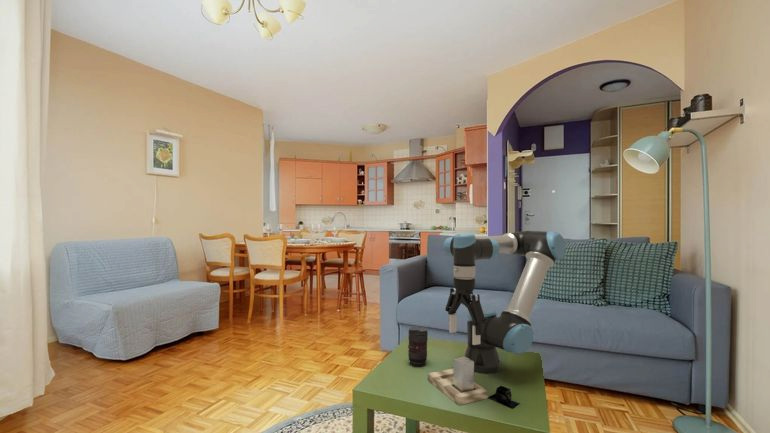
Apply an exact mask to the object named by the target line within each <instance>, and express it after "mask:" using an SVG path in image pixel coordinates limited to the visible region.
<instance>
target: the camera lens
mask: <svg viewBox="0 0 770 433" xmlns="http://www.w3.org/2000/svg"><path fill="white" fill-rule="evenodd" d="M428 334H429V333H428V329H427V327H425V326H419V325H416V326H415V325H413V326H410V327H409V329H408V345H407V346H408V347H407V348H408V354H407V355H408V361H409V365H410V366H412V367H416V368H417V367H418V368H419V367H425V365H426V363H427V360H428V358H427V357H428Z"/></svg>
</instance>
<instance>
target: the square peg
mask: <svg viewBox="0 0 770 433" xmlns="http://www.w3.org/2000/svg"><path fill="white" fill-rule="evenodd" d="M452 369H453V387H454V388H455V389H457V390H458V391H459V392H461V393H464V392H468V391H473V390H474V382H475V377H474V376H475V371H474V361H472V360H470V359H469V358H467V357H464V356H460V357H455V358H453V368H452Z"/></svg>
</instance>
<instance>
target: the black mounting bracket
mask: <svg viewBox="0 0 770 433" xmlns="http://www.w3.org/2000/svg"><path fill="white" fill-rule="evenodd" d="M487 399H489V400H491V401H492V402H495V403H497V404H500V405H501V406H504V407H505V408H506V407H507V408H509V409H511V410H513V409H515V408H516V407H518V406H519V405H521V403H520V402H518V401H516V400H513V399H512V391H511V389H510V388H508V387H506V386H504V385H499V386H498V387H496V390H495V393H493V394H492V395H489V396H488V398H487Z"/></svg>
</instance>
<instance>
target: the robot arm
mask: <svg viewBox="0 0 770 433" xmlns="http://www.w3.org/2000/svg"><path fill="white" fill-rule="evenodd" d="M566 247H567V246H566V241H565V239H564V237H563V235H561V233H560V232H557V231H551V230H548V231H538V230H536V231H535V230H522V231H517V232H516V231H515V232H506V233H504V234H502V235H486V236H476V235H475V234H474V233H456V234H455V235H454V236H452V237H450V236H449V237H447V238H446V239H445V240H444V241H443V251H444V252H445V254H446V255H448V256H452V257H453V285H452V286H453V287H452V288H451V287H450V288H449V289H450V290H449V296H448V299H447V303H446V305H445V308H444V309H445V311H446V312H447V314H448V322H449V324H448V325H449V327H448V328H449V332H448V333H450V334H453V333H457V332H458V331H457V328H458V327H457V326H458V325H457V322H458V321H457V319H458V318H457V317H458V316H457V311H458V309H459V308H460V306H461V304H462V305H463V306H465V308H467V311H468V314H467V320H466V322H467V324H466V325H467V326H466V327H467V328H466V329H467V331H466V332H467V337H466V338H467V347H466V348H465V352H464V356H463V357H467V358H469V359H470V360H472V361H474V373H482V374H489V373H490V374H492V373H496V372H497V373H498V372H499V371H500V370H501V360H500V358H499V354H498V350H497V349H501V350H503V351H506V352H507V353H510V354H511V353H512V354H515V355H522V354H524V353H526V352H527V351H528V350H529V349H530V348H531V347H532V343H533V341H534V330H533V328H532V327H531V326H532V322H531V320H530V317H531V314H532V312H533V309H534V307H535V304H536V301H537V299H538V296H539V294H540V291H541V288H542V285H543V283H544V280H545V278H546V275H547V272H548V270H549V269H550V268H552V267H554V266H555V263H556V260H557V261H560V260H562V259H563V258H564V257H565V255H566V249H567V248H566ZM499 254H505V255H517V256H522V257H525V258H526V260H527V261H526V263H525V266H524V268H523V270H522V272H521V276H520V278H519V280H518V283H517V285H516V287H515V290H514V292H513V295H512V298H511V299H510V302H509V304H508V307H507V309H504V310H502V311H501V313H500V315H499V316H497V312H496V311H495V310H494V309H483V307H482V304H481V300H480V299H481V298H480V294H477V293H476V294H474V292H473V291H474V290H475V289H476V279H475V277H476V261H477V260H478V261H479V260H491V259H495V258H497V256H498V255H499Z"/></svg>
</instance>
